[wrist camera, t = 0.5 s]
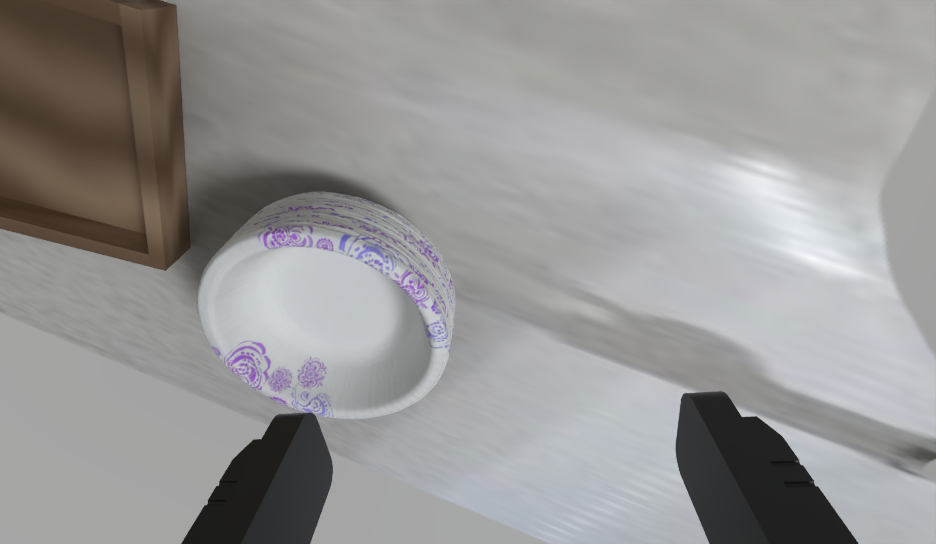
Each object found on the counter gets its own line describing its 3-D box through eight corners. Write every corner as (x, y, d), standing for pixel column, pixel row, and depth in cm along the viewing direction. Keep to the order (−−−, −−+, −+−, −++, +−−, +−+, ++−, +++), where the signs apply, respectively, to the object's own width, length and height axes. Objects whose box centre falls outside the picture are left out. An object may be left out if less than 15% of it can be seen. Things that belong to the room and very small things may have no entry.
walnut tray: (-155, -101, 23) (-234, -109, 20) (176, 5, 25) (140, 10, 22) (-49, 185, 32) (-95, 204, 29) (190, 247, 34) (165, 270, 31)
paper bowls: (245, 313, 37) (190, 389, 30) (261, 137, 29) (191, 189, 22) (426, 365, 39) (411, 447, 33) (489, 215, 31) (488, 283, 24)
